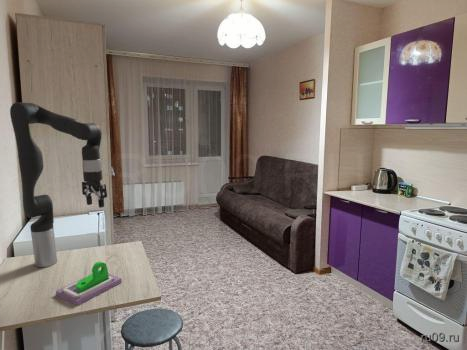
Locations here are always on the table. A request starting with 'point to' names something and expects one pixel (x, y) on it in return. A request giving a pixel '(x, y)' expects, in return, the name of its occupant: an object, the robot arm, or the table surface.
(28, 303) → the table surface
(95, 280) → the mechanical part
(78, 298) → the door panel
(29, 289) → the table surface
